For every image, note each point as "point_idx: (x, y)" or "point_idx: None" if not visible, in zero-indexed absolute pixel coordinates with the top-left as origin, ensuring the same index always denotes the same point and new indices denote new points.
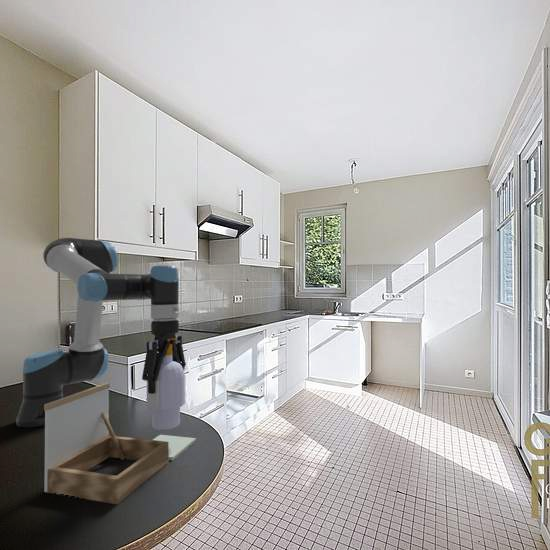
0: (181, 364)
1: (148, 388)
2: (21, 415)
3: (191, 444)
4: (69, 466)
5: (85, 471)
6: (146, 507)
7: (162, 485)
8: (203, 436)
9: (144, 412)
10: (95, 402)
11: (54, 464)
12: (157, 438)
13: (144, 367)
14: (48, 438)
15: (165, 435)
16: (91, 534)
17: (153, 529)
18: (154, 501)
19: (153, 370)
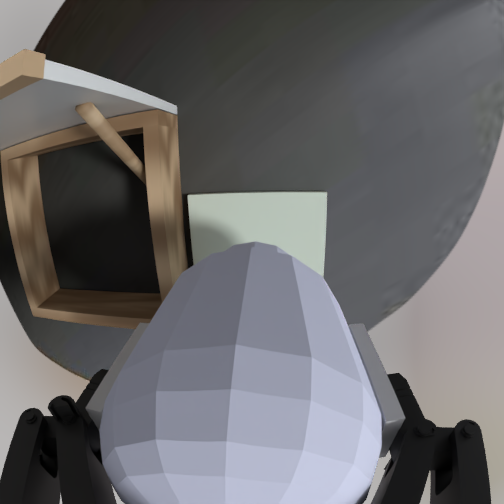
0: (430, 470)
1: (87, 388)
2: None
3: None
4: (37, 152)
5: (17, 237)
6: (73, 339)
7: (119, 336)
8: (351, 314)
9: (472, 36)
10: (9, 113)
11: (8, 146)
12: (296, 202)
13: (7, 465)
14: None
15: (324, 215)
16: (19, 302)
17: (59, 364)
18: (86, 343)
19: (56, 485)
